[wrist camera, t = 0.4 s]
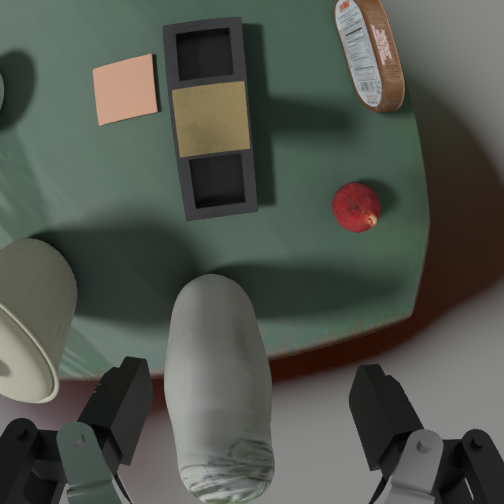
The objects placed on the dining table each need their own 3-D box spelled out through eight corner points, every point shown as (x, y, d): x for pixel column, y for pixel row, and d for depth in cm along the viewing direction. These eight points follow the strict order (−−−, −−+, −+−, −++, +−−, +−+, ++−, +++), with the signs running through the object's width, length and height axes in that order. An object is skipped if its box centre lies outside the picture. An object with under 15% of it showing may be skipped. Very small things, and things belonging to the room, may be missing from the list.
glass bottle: (237, 325, 43) (270, 512, 18) (169, 312, 40) (156, 510, 16) (258, 270, 39) (324, 479, 14) (182, 253, 36) (165, 483, 12)
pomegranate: (314, 202, 36) (339, 226, 29) (342, 166, 34) (374, 183, 27) (344, 226, 38) (372, 254, 31) (370, 194, 36) (404, 215, 29)
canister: (-14, 226, 29) (-99, 307, 11) (76, 206, 31) (-23, 308, 13) (25, 323, 38) (-22, 417, 19) (111, 321, 40) (78, 443, 21)
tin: (375, 109, 31) (416, 113, 24) (354, 113, 31) (392, 117, 24) (344, 2, 24) (378, -19, 17) (322, 2, 24) (352, -21, 17)
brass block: (192, 138, 30) (180, 157, 18) (187, 99, 28) (171, 90, 16) (232, 133, 30) (250, 148, 18) (229, 94, 28) (244, 81, 16)
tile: (100, 125, 28) (99, 125, 27) (94, 69, 24) (92, 69, 24) (157, 112, 28) (157, 112, 28) (152, 54, 25) (151, 53, 25)
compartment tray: (254, 204, 35) (258, 211, 33) (187, 213, 34) (186, 221, 32) (238, 23, 25) (241, 16, 22) (165, 32, 24) (162, 26, 22)
